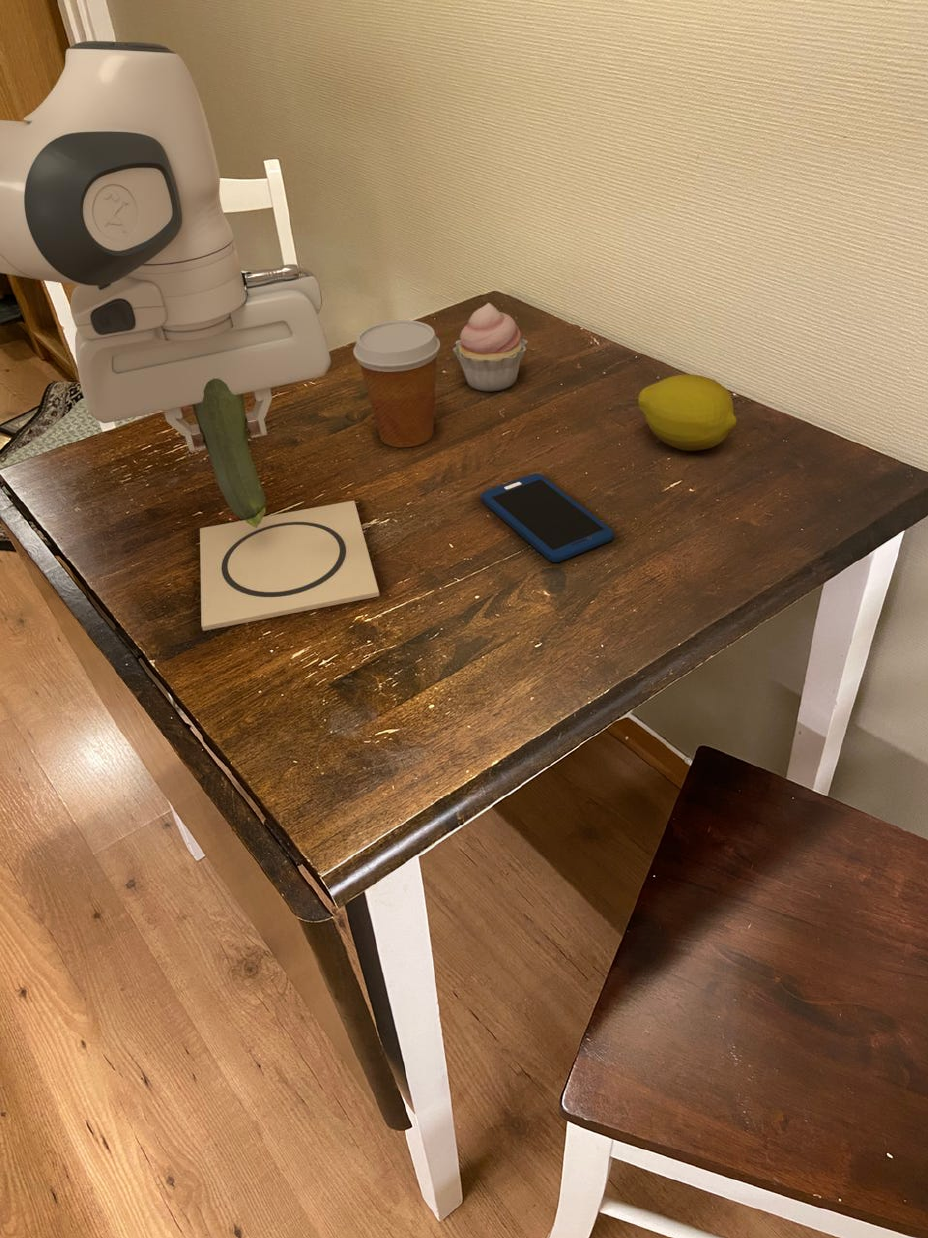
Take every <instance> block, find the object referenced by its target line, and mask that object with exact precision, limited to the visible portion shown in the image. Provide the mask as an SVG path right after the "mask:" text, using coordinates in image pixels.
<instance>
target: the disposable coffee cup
mask: <svg viewBox="0 0 928 1238" xmlns="http://www.w3.org/2000/svg"><path fill="white" fill-rule="evenodd" d="M440 347H441V341H440V339H439V338H438V337H437V335H436V332H435V329H434V328H433V327H432V326H431V325H429V324H427V323H425V322H421V321H417V320H409V319H407V320H406V319H405V320H402V319H401V320H397V319H396V320H389V321H382V322H379V323H375V324H373V325H369V326H368V327H366V328H364V329H363V330H361V331H359V333H358V334H357V335H356V339H355V346H354V347H353V350H352V352H353V356H354V357H355V359H356V360H357V363H358V364H359V366H360V369H361V373H362V376H363V380H364V384H365V388H366V391H367V394H368V398H369V401H370V406H371V409H372V413H373V416H374V420H375V424H376V427H377V430H378V435H379V439H380V440H381V442H382V443H384V444H385V445H388V446H390V447H394V448H411V447H417V446H420V445H422V444H424V443H426V442H428V441H429V440H430V439H432V438H433V435H434V428H435V427H434V426H435V425H434V423H435V421H434V420H435V401H436V400H435V399H436V377H437V375H436V374H437V373H436V372H437V356H438V354H439V351H440Z"/></svg>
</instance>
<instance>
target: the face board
mask: <svg viewBox="0 0 928 1238" xmlns="http://www.w3.org/2000/svg"><path fill="white" fill-rule="evenodd" d="M257 526H258V528H255V527H253V526H251V525H250V524H248V523H247V522H246V521H245V520H243V519H242V520H239V521H233V522H228V523H227V522H226V523H223V524H216V525H212V526H211V525H210V526H204V527H200V528H199V553H200V555H199V557H200V559H199V560H200V561H199V562H200V612H201V613H200V615H201V619H200V621H201V630H202V631H203V632H205V631H210V630H211V631H212V630H216V629H221V628H227V627H231V626H236V625H240V624H246V623H251V622H256V621H257V622H258V621H261V620H266V619H271V618H276V617H281V616H288V615H291V614H296V613H302V612H307V611H311V610H318V609H321V608H327V607H332V606H338V605H342V604H349V603H352V602H353V603H354V602H357V601H362V600H367V599H373V598H378V597H380V590H379V586H378V582H377V579H376V575H375V571H374V567H373V565H372V564H373V563H372V561H371V560H372V559H371V557H370V553H369V550H368V545H367V542H366V538H365V535H364V531H363V527H362V523H361V520H360V516H359V512H358V509H357V504H356V501H355V500H349V501H344V502H343V501H342V502H337V503H332V504H327V505H321V506H316V507H310V508H305V509H298V510H294V511H288V512H282V513H277V514H272V515H266V516H263V518H262V520H261V522H260V524H259V525H257Z"/></svg>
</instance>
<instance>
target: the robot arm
mask: <svg viewBox="0 0 928 1238" xmlns="http://www.w3.org/2000/svg"><path fill="white" fill-rule="evenodd" d="M64 60H65V63H64V68H63V70H62V73H61V75H60V76H59V78H58V79H57V81H56V84H55V86H54V87H53V89H52V90H51V91H50V92H49V94H48V95H47V97H46V98H45V99H44V100H43V101H42V102H41V103H40V104H39V106H37V107H36V108H35V110H32V112H31V113H29V114H28V115H26V116H25V117H23V121H19V120H5V119H0V274H4V275H11V276H16V277H21V278H26V279H31V280H32V279H33V280H38V281H44V282H53V283H57V284H58V283H59V284H64V285H72V286H75V288H73V290H72V293H71V297H70V305H69V306H70V307H69V308H70V313H71V317H72V320H73V323H74V325H75V328H76V331H75V338H74V344H75V345H74V346H75V361H76V367H77V374H78V379H79V384H80V389H81V392H82V396H83V401H84V403H85V406H86V410H87V412H88V414H89V415H90V416H91V417H92V418H93V419H95V420H96V421H98V422H100V423H102V424H108V423H109V424H110V423H114V422H118V421H122V420H127V419H132V418H136V417H141V416H146V415H150V414H155V413H161V412H163V415H164V418H165V421H166V423H168V425H170V426H171V428H173V429H174V430H176V431H177V432H178V433H179V434H180V435H181V436H183V437H184V438H185V441H186V445H187V449H188V451H189V453H194V452H199V451H202V450H207V449H206V445H205V442H204V438H203V435H202V431H201V429H200V427H199V425H198V423H195V424H189V422H187V421H186V420H185V419H184V418H183V413H182V409H181V408H183V407H187V406H188V407H189V406H192V404H197V403H201V402H202V401H203V397H204V388H205V386H206V384H207V383H208V382H209V381H210V380H212V379H214V378H216V379H220V380H222V381H223V382H224V383H226V384H227V386H228V388H229V390H230V391H231V392H232V393H233V394H234V395H239V394H243V395H245V394H247V393H252V394H253V397H254V398H255V403H254V406H253V409H252V411H249V412H245V414H246V429H247V430H248V434H249V437H250V439H255V438H259V437H264V436H268V431H267V426H266V423H265V419H266V416H267V414H268V412H269V409H270V406H271V403H272V402H273V401H272V400H273V396H272V391H271V390H272V389H271V388H275V387H280V386H286V385H291V384H293V383H299V382H305V381H308V380H313V379H318V378H321V377H324V376H325V375H326V373H328V370H329V369H330V366H331V363H332V359H331V355H330V350H329V345H328V343H327V339H326V336H325V332H324V330H323V327H322V323H321V321H320V318H319V313H320V311H321V309H322V306H323V297H322V291H321V286H320V282H319V280H318V277H317V276H316V275H315V273H313V272H312V271H311V270H309V269H306V268H303V267H299V266H298V264H295V263H290V264H289V263H288V264H284V265H281V266H280V267H274V268H261V269H256V270H250V271H249V270H248V271H245V272H244V271H243V272H242V267H241V264H240V259H239V255H238V254H239V253H238V250H237V246H236V241H235V237H234V233H233V230H232V227H231V225H230V223H229V221H228V219H227V218H226V215H225V213H224V210H223V207H222V203H221V195H220V189H221V188H220V187H221V175H220V174H221V173H220V169H219V164H218V160H217V156H216V152H215V147H214V144H213V138H212V134H211V131H210V128H209V124H208V123H209V122H208V120H207V117H206V113H205V110H204V107H203V104H202V100H201V97H200V95H199V92H198V90H197V89H198V88H197V86H196V84H195V82H194V80H193V77H192V75H191V73H190V71H189V69H188V67H187V65H186V64H185V62H184V60H183V58H182V57H181V56H180V55H179V54H178V53H176V52H175V51H173V50H172V49H170V48H168V47H167V46H164V45H162V44H158V43H152V42H139V41H138V42H137V41H113V40H109V41H108V40H86V41H81V42H76V43H74V45H71V46H68V48H67V49H66V50H65V59H64ZM300 274H303V275H300Z"/></svg>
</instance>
